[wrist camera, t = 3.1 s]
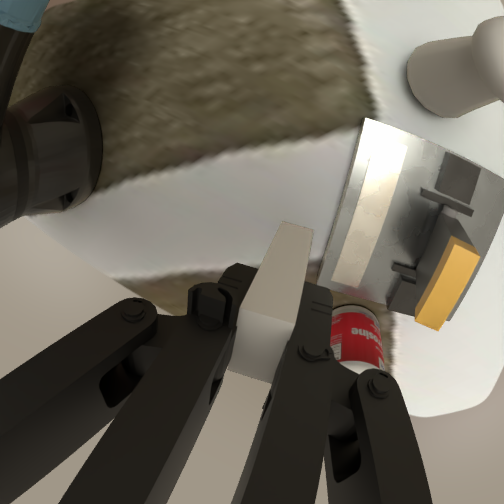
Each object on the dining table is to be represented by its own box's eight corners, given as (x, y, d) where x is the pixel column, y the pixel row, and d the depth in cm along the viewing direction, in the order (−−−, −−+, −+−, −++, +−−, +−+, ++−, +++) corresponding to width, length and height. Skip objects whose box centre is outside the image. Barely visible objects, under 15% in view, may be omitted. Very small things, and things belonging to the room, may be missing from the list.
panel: (317, 273, 26) (315, 292, 23) (362, 118, 19) (367, 117, 16) (444, 308, 24) (452, 328, 21) (501, 179, 17) (519, 188, 14)
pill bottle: (389, 329, 26) (401, 420, 17) (343, 356, 29) (337, 443, 20) (355, 291, 25) (360, 386, 16) (307, 323, 28) (290, 414, 19)
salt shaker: (471, 111, 16) (579, 126, 4) (415, 124, 18) (506, 140, 6) (447, 44, 14) (538, 2, 2) (388, 54, 16) (450, -7, 5)
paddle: (412, 270, 21) (410, 327, 14) (440, 202, 18) (458, 235, 11) (429, 277, 20) (434, 337, 14) (459, 211, 17) (484, 248, 11)
